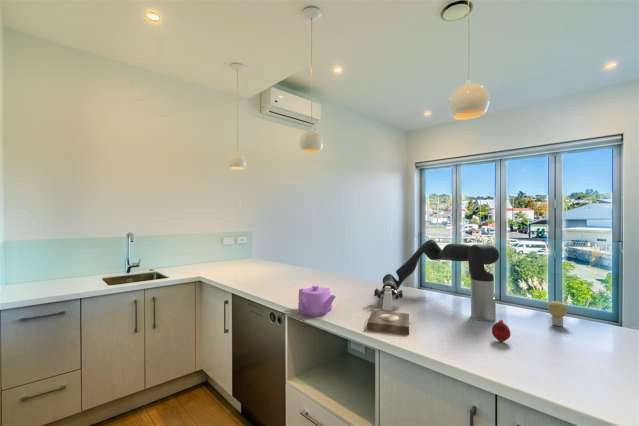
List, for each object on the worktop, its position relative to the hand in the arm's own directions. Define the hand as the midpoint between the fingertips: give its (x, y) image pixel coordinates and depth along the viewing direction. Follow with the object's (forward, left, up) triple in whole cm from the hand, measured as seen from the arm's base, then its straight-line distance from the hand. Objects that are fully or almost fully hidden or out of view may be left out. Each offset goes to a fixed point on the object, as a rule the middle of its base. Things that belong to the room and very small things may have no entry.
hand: (387, 296), depth 140 cm
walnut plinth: (-2, +20, -7) cm, 21 cm away
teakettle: (+33, +13, -7) cm, 36 cm away
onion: (-42, +25, -7) cm, 49 cm away
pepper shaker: (0, -2, -7) cm, 7 cm away
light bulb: (-70, -1, -7) cm, 70 cm away
